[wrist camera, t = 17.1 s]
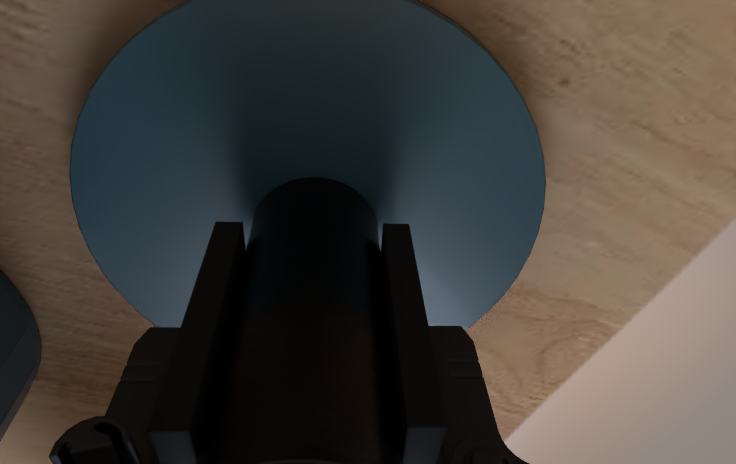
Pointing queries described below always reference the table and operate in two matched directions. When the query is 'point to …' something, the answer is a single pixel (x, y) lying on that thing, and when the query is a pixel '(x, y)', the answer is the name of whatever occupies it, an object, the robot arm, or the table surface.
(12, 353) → the pot
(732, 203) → the table surface
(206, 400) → the robot arm
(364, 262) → the lid
